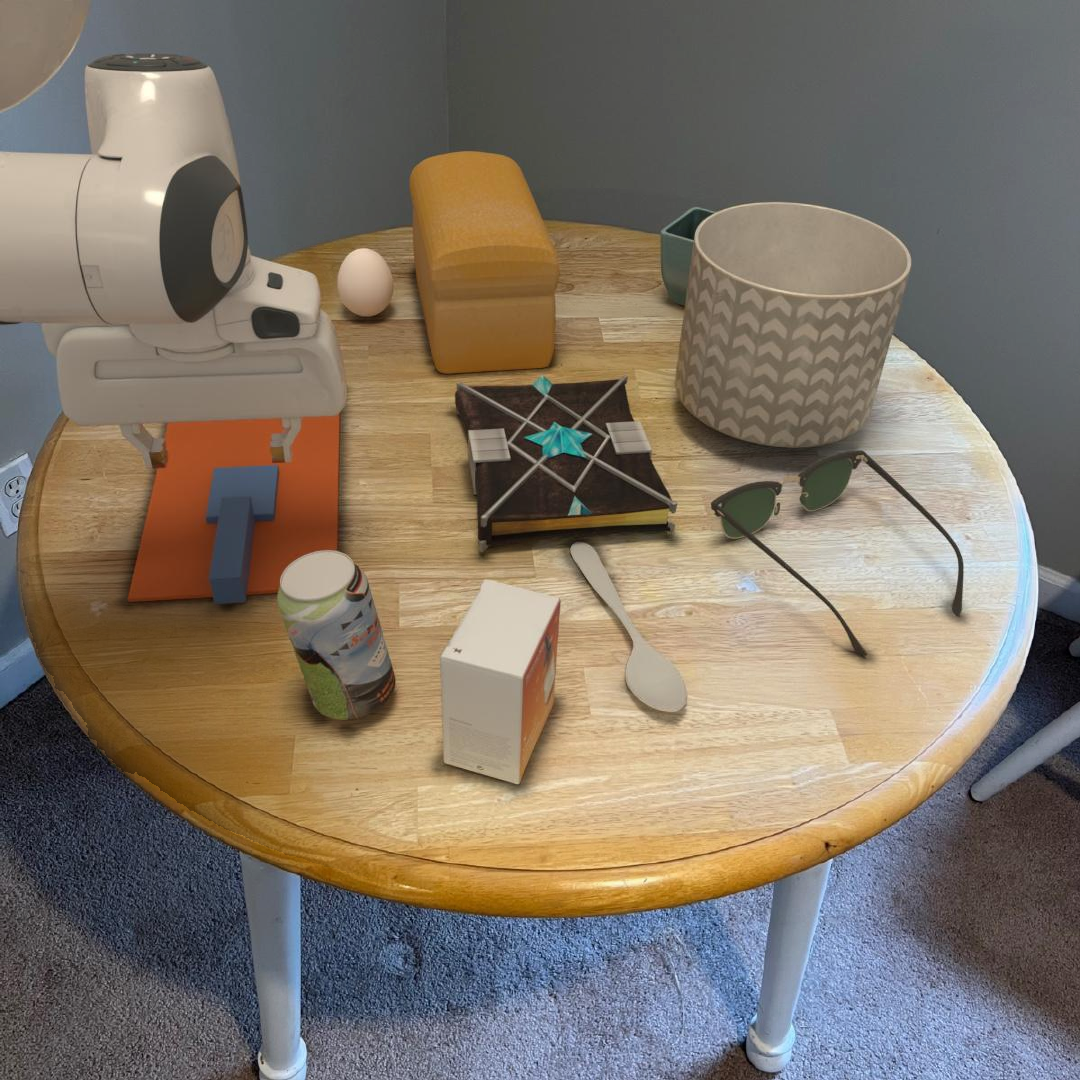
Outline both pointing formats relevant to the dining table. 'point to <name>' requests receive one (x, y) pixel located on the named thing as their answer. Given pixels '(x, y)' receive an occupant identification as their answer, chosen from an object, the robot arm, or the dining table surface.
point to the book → (559, 462)
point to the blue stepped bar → (237, 524)
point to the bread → (482, 264)
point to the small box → (499, 680)
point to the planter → (788, 322)
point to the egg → (365, 282)
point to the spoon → (635, 643)
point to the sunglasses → (819, 488)
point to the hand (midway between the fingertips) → (220, 461)
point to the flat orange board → (298, 529)
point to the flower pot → (679, 252)
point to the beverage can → (336, 634)
